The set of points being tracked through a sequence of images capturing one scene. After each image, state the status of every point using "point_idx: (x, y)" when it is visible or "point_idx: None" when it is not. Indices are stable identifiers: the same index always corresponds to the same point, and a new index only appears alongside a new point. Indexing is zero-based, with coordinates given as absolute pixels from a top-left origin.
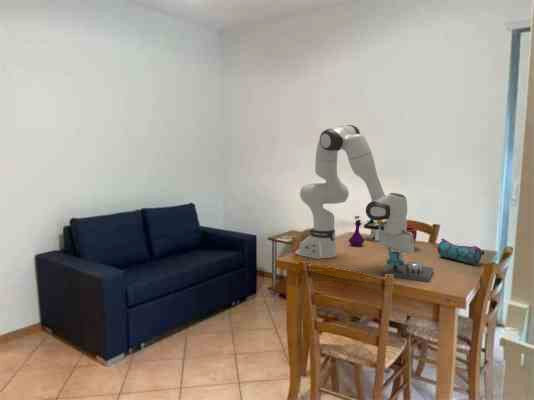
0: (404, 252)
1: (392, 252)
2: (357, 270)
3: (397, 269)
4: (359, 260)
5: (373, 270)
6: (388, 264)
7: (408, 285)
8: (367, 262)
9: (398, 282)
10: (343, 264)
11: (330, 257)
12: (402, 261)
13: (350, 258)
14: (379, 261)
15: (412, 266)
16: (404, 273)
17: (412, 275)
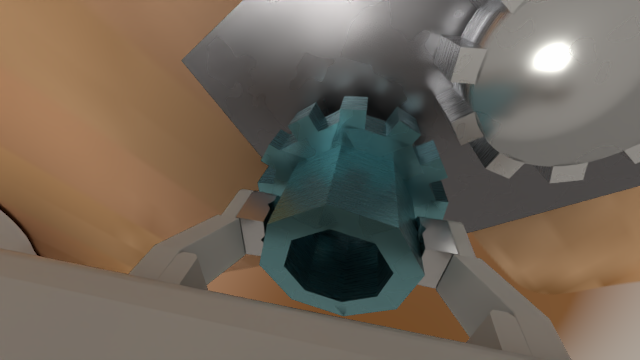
0: (543, 340)
1: (285, 263)
2: (238, 265)
3: None
4: (45, 140)
5: None
6: (249, 129)
7: (588, 269)
8: (92, 129)
9: (507, 267)
10: (133, 248)
11: (19, 229)
12: (429, 179)
13: (5, 154)
14: (54, 20)
15: (579, 153)
16: (504, 211)
17: (587, 197)
